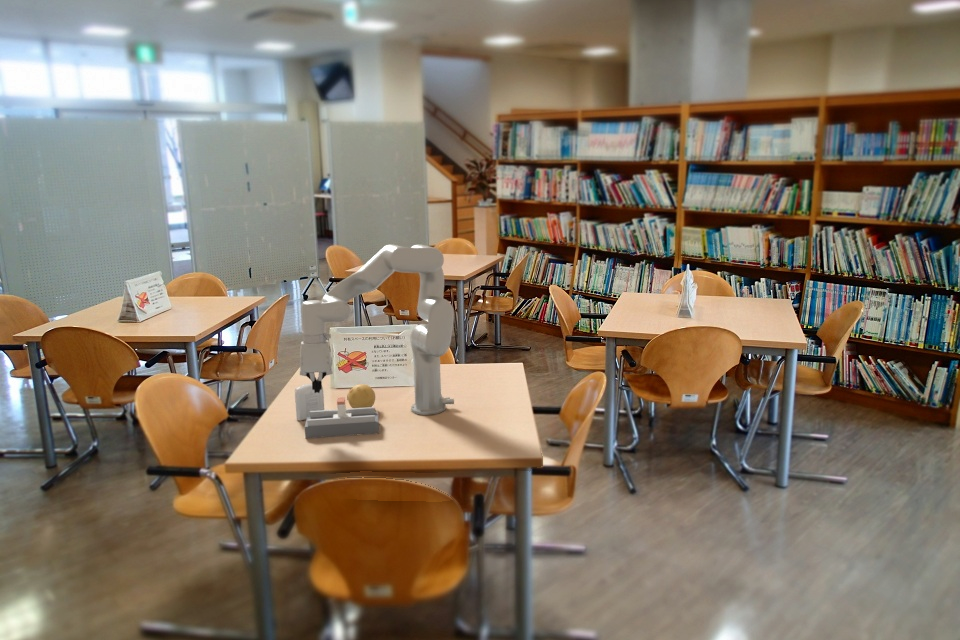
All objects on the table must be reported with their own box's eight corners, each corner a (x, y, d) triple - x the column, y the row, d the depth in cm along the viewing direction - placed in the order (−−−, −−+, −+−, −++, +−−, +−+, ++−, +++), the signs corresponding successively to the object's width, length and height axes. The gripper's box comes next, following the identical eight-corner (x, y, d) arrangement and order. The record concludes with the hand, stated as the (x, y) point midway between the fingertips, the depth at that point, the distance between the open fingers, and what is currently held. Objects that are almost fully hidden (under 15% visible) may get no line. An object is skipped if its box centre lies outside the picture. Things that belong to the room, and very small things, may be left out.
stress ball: (365, 407, 270) (343, 392, 267) (381, 389, 267) (359, 374, 264) (363, 421, 261) (340, 406, 258) (379, 402, 258) (356, 387, 255)
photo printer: (322, 412, 263) (319, 379, 260) (326, 415, 260) (324, 382, 257) (294, 418, 258) (292, 385, 255) (299, 422, 254) (296, 388, 251)
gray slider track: (378, 422, 252) (377, 406, 251) (378, 433, 242) (377, 416, 241) (308, 427, 249) (307, 410, 247) (305, 438, 239) (304, 421, 238)
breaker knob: (351, 414, 248) (350, 396, 246) (350, 421, 242) (349, 401, 241) (333, 416, 247) (332, 397, 246) (332, 422, 241) (331, 403, 240)
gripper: (338, 334, 242) (340, 387, 246) (292, 336, 240) (295, 389, 244) (337, 340, 234) (339, 394, 238) (289, 341, 233) (293, 396, 236)
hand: (317, 391), depth 241 cm, fingers closed
